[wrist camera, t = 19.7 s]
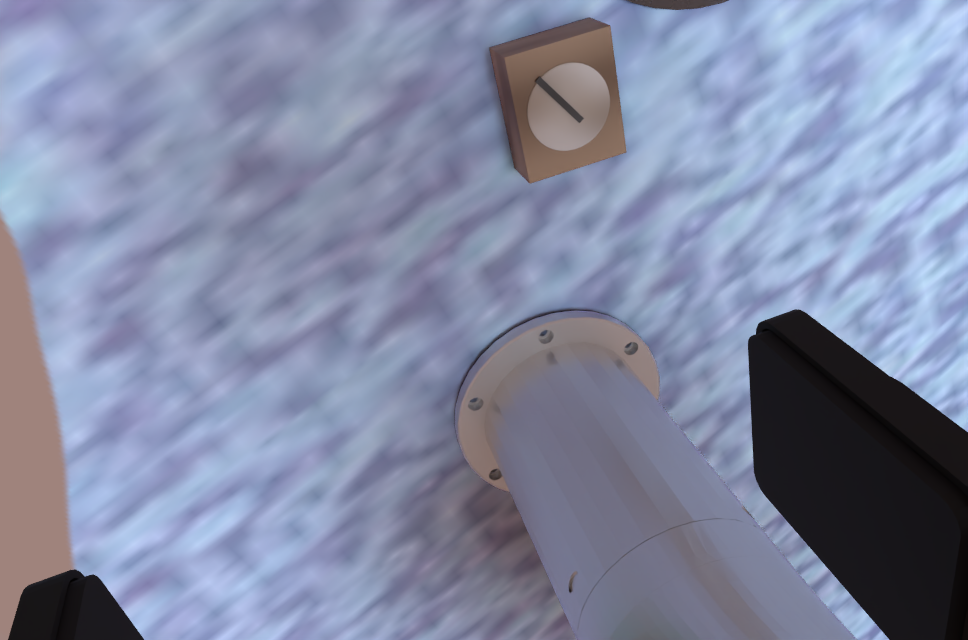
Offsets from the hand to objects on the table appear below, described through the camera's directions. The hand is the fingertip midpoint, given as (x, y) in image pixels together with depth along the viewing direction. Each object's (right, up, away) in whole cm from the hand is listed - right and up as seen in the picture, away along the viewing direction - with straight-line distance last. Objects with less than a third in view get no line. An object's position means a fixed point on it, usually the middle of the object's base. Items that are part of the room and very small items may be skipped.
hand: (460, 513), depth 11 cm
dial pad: (+4, +14, +27) cm, 31 cm away
